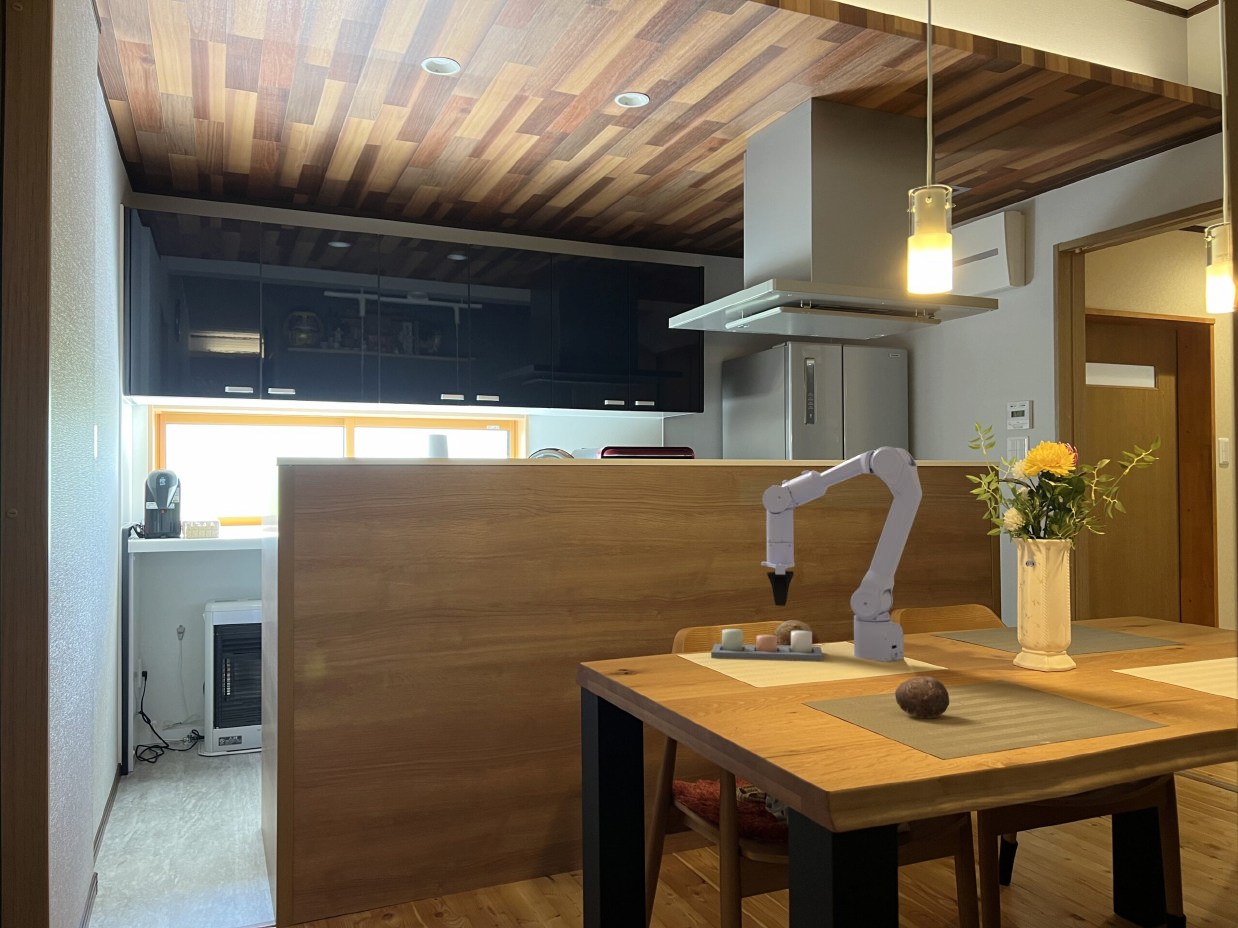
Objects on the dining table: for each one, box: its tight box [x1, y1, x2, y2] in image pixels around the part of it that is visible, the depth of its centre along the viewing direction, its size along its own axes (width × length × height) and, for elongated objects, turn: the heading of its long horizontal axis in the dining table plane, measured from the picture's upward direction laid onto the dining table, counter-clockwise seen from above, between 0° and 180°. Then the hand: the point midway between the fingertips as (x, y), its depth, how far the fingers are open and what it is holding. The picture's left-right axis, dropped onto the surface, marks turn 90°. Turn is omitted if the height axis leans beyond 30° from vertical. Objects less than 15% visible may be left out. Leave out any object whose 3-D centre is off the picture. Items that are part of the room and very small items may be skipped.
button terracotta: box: [755, 634, 778, 652], centre depth 192 cm, size 4×4×5 cm
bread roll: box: [772, 619, 819, 646], centre depth 209 cm, size 10×10×8 cm
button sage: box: [721, 628, 744, 651], centre depth 194 cm, size 4×4×5 cm
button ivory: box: [790, 631, 813, 653], centre depth 191 cm, size 4×4×5 cm
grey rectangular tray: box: [710, 643, 824, 662], centre depth 192 cm, size 22×10×2 cm, turn 80°
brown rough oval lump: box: [894, 675, 950, 719], centre depth 148 cm, size 8×8×6 cm
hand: (780, 605), depth 201 cm, fingers closed
